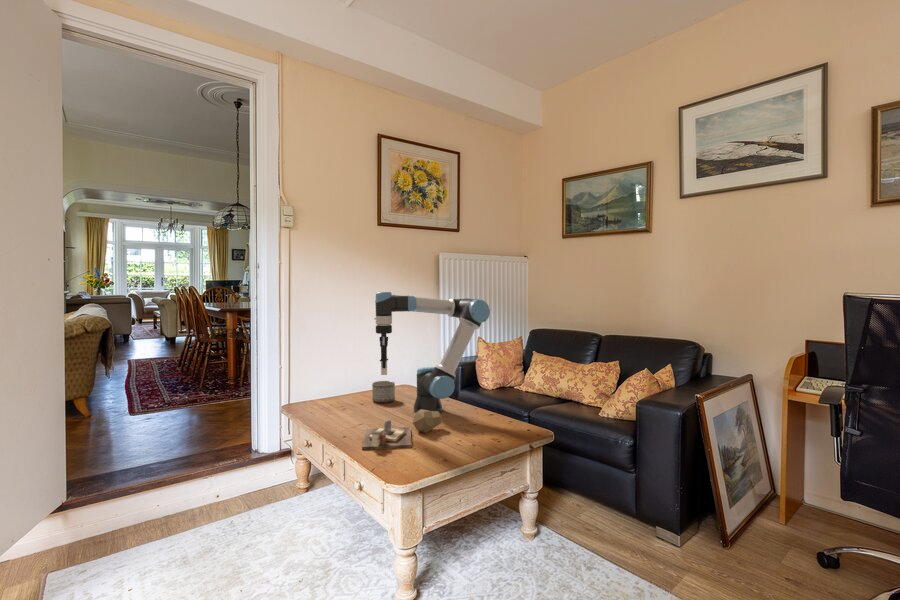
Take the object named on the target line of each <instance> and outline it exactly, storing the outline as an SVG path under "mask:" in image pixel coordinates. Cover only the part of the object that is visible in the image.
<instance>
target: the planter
mask: <svg viewBox="0 0 900 600" xmlns="http://www.w3.org/2000/svg"><path fill="white" fill-rule="evenodd" d="M395 386H396V385H395V381H392V380H379V381H378V380H377V381H374V382H372V383H371V387H372V390H371V391H372V392H371V393H372V395H371V396H372V399H371V400H372V401H373V402H376V403H379V402H382V403H381V404H384V403H383V402H386V403H390V402H393V401H395V398H396V396H395V394H396V392H395V391H396V390H395Z"/></svg>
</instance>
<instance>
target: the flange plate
mask: <svg viewBox="0 0 900 600" xmlns="http://www.w3.org/2000/svg"><path fill="white" fill-rule="evenodd" d="M378 428H379V429H378V430H377V431H375V432H373V433H372V434H371V435H370V436H369V439H372V446H374V447H378V446H379V445H380V444H381V434H384V427H378ZM393 428H394V427H391V434H392V435H386V441H391V442H396V441H397V440H398V439H399V438H400V437H401V436H402V435H403V434H405V433H406V430H403V429H393Z"/></svg>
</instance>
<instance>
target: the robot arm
mask: <svg viewBox="0 0 900 600" xmlns="http://www.w3.org/2000/svg"><path fill="white" fill-rule="evenodd" d="M374 302H375V317H374V319H373V320H375V333H376V334H377V335H378V334H380V336H379V347H380V359H379V362H380V375H381V376H387V375H388V361H389V358H388V346H389V345H388V344H389V343H388V342H389V336H387V334H391V333H392V332H393V325H392V324H393V314H392V313H393V312H412V313H413V312H415V313H425V314H427V313H428V314H438V315H447V316H448V317H451V318H458V321H459V324H458V326H457V328H456V330H455V332H454V334H453V337H452V338H451V340H450V342H449V344H448V346H447V348H446V351H445V352H444V355H443V356H442V359H441V361H440V362H439V364H438V365H436V366H427V367H418V369H417V370H416V398H415V401H414V405H413V412H414V414H416V413H417V411H419V410H421V409H423V410H428V411H439V413H440V414H441V413H442V411H443V405H442V404H443V403H442V402H441V400H443V399H447V398H449V397H450V396H451V395H452V394H453V393H454V392H455V387H456V386H455V385H456V384H455V380H456V378H457V376H456V370H457V368H458V366H459V364H460V362H461V359H462V358H463V355H465V354H464V353H465V351H466V349H467V348H468V346H469V343H470V341H471V339H472V337H473V336H474V333H475V331H476V330H478V329H480V327H481V325H482V323H484V322H486V321H488V319H489V318H490V314H491V309H490V306H489V304H488V303H487V302H486V301H485V300H483V299H480V298H449V299H448V300H447V299H437V298H426V297H418V296H414V295H399V294H398V295H396V294H392V292H391V291H378V292H376V293H375V301H374Z"/></svg>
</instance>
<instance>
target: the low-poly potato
mask: <svg viewBox="0 0 900 600" xmlns="http://www.w3.org/2000/svg"><path fill="white" fill-rule="evenodd" d="M442 423H443V415H442V414H441V412H440V413H439V411H428V410H423V409H421V410H419V411H417V413H414V415H413V418H412V425H413V426H414V428H415V429H416V430H417V431H418V432H421V433H426V434H428V432H430V431H431V430H433V429H435V428H436V427H438V426H439V425H441V424H442Z"/></svg>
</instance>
